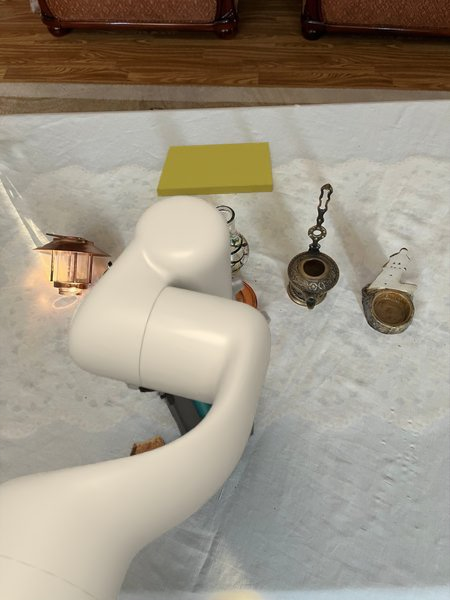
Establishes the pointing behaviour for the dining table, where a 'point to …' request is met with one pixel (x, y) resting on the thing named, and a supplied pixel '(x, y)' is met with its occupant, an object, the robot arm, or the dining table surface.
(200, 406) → the rod
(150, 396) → the dining table surface
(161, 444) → the shard
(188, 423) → the bin
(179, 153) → the flat olive board
